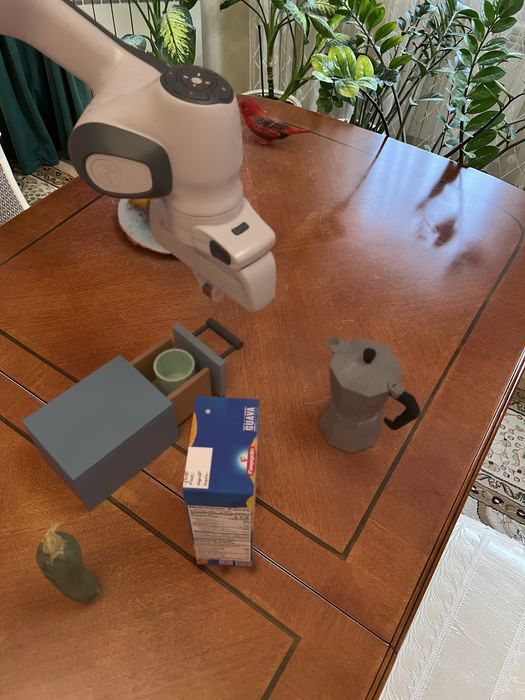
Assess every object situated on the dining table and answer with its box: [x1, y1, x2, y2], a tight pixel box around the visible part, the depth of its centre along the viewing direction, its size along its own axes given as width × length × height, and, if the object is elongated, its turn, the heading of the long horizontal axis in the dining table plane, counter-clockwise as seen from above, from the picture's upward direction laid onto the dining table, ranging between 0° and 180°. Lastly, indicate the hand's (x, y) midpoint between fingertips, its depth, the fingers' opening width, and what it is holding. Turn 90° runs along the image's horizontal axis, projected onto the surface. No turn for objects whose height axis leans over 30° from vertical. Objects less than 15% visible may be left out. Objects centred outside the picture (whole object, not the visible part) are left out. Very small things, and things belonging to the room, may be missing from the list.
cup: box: [153, 348, 196, 397], centre depth 84 cm, size 6×6×6 cm
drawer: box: [128, 317, 245, 427], centre depth 84 cm, size 20×10×8 cm, turn 136°
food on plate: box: [117, 199, 171, 255], centre depth 112 cm, size 25×25×7 cm
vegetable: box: [35, 520, 102, 605], centre depth 62 cm, size 4×4×20 cm
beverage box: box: [181, 396, 260, 568], centre depth 67 cm, size 7×11×22 cm, turn 177°
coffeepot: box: [318, 336, 421, 454], centre depth 78 cm, size 15×9×18 cm, turn 43°
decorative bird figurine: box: [238, 97, 312, 147], centre depth 127 cm, size 3×18×10 cm, turn 67°
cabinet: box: [21, 354, 180, 512], centre depth 78 cm, size 16×12×10 cm
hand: (212, 294), depth 78 cm, fingers closed
